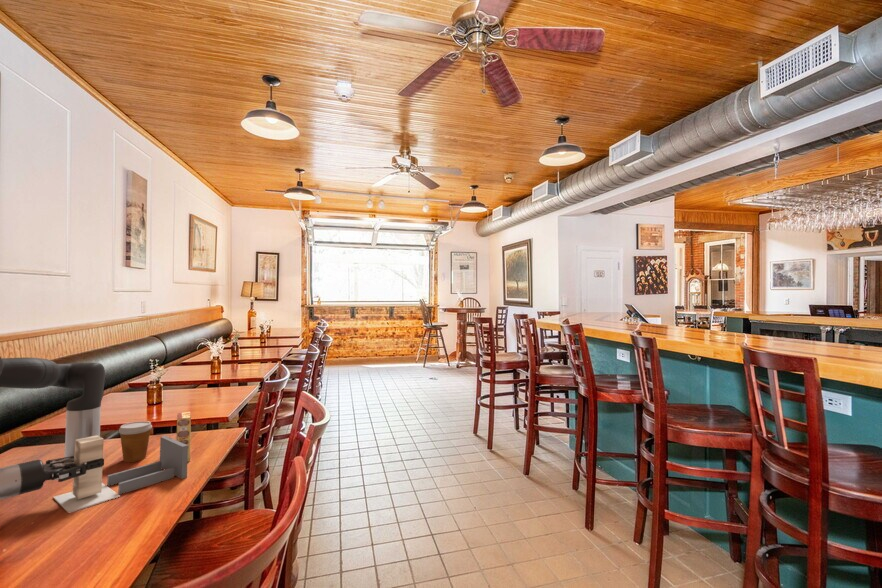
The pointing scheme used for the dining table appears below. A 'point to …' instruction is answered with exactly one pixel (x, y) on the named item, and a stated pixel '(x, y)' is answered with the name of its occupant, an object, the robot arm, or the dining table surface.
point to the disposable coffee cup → (135, 440)
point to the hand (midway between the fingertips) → (99, 459)
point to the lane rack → (154, 468)
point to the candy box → (184, 429)
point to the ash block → (92, 479)
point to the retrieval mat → (85, 499)
